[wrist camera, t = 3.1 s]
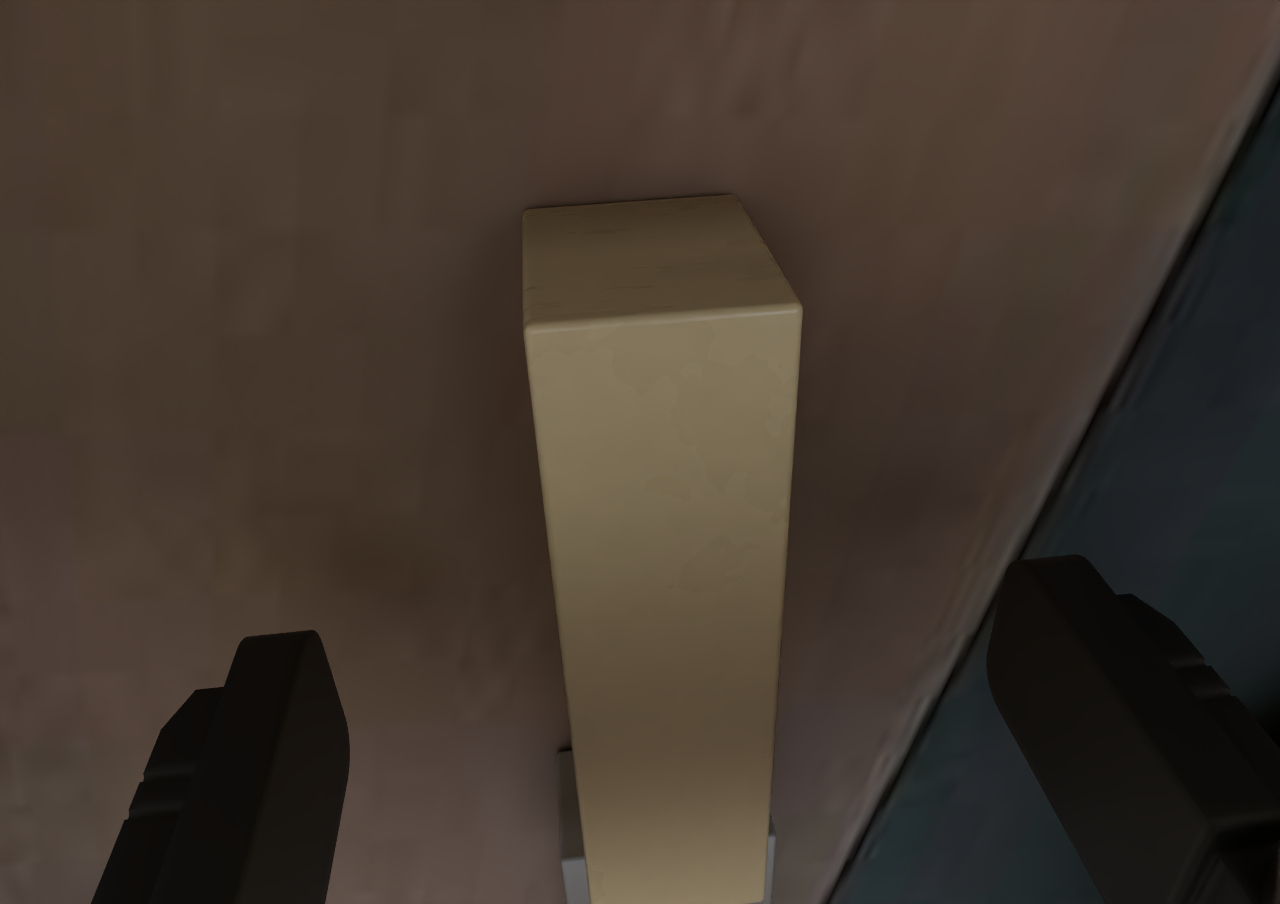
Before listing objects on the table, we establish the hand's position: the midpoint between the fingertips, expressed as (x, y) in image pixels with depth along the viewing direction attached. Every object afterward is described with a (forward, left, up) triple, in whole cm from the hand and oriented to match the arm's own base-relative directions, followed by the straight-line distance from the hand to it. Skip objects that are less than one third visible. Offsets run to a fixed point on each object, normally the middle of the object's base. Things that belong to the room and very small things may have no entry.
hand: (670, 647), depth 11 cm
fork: (+3, -2, -2) cm, 4 cm away
